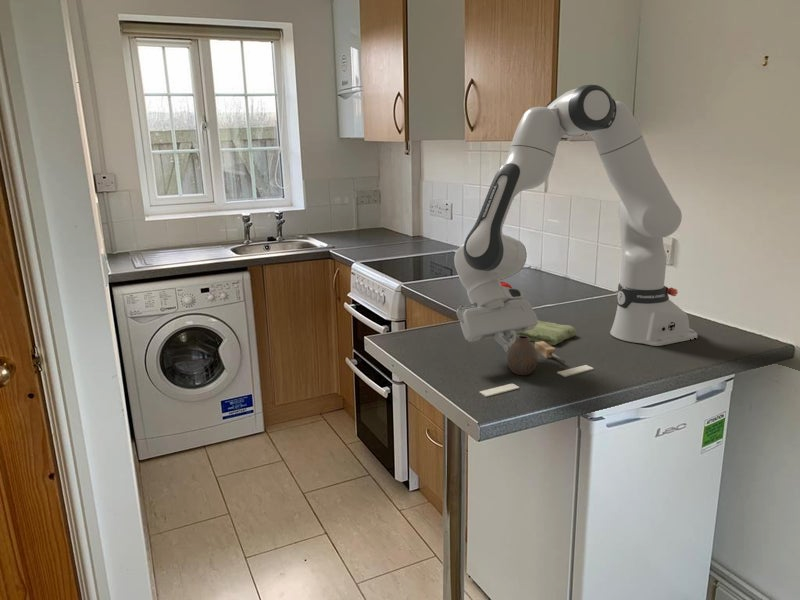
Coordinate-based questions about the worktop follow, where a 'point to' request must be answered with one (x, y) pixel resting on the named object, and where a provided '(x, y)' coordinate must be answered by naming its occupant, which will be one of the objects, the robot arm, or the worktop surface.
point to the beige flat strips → (513, 387)
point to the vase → (522, 356)
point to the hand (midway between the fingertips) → (512, 349)
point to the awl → (546, 350)
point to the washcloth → (549, 333)
